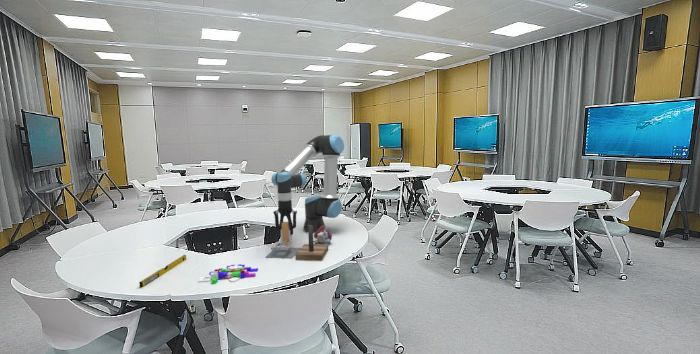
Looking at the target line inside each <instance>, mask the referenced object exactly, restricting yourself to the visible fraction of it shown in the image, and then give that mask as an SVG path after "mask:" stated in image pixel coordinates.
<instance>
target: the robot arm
mask: <svg viewBox="0 0 700 354" xmlns="http://www.w3.org/2000/svg"><path fill="white" fill-rule="evenodd" d="M344 150H345V142H344V140H343V138H342V137H341V136H340V135H336V134H329V135H326V134H324V135H322V134H320V135H317V136H315V137H313V138H312V139H310V140H309V141H308V142H307V143H306V144H305V145H304V147H303V149H302V150H301V151H300V152H299V153H297V155H296V156H295V157H294V158H293V159H292V160H291V161H290V162H289V163H288V164H287V165H285V167H283V169H282V170H281V171H279V172H275V173H273V174H272V175H271V183H272V184H273V185H275V186H277V188H276V189H277V200H278V201H277V205H278V208H277V210H274V211H272V212H273V215H274V224H275V228H276V229H278V230H279V231H278V235H280V240H281V241H280V242H282V224H281V223H282V222H284V218H285V217H286V219H287V222H288V223H289V227H290V229H289V241H291V242H292V240H293V239H292V236H293V235H294V229H295V228H297V213H298V210H294V209H293V203H292V189H295V188H301V187H304V186H305V185H306V184H307V181H308V180H307V177H306V175H305V174H304V173H298V172H299V171H300V170H301V169H302V168H303V167H304V166H305V165H306V164H307V163H308V161H310V159H312V157H315V156H317V155H318V154H322V157H323V158H324V167H323V169H324V170H323V192H322V193H323V194H322V195H314V196H313V195H312V196H309V197H306V198H305V199H304V213H305V214H304V215H305V219H304V224H303V227H302V228H303V232H306V233H308V225H313V234H315V232H316V231H317V230H318V229H319V228H320V227H321V226H324V227H325V228H326V225H325V222H324V218H323V217H325V218H329V219H331V218H332V219H335V218H337V217H338V216H340V214H341V212H342V209H343V204H342V201H340V200H339V195H337V188H338V187H337V184H338V162H339V161H338V160H339V159H338V158H340V157H341V153H343V151H344ZM291 214H292V217H291ZM279 215H280V216H279ZM320 231H321V230H320ZM318 232H319V231H318Z"/></svg>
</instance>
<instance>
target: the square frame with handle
mask: <svg viewBox="0 0 700 354" xmlns="http://www.w3.org/2000/svg"><path fill="white" fill-rule="evenodd" d="M281 224H282V241H276V242H275V243H274V244H273V245H271V247H270V250H271V251H272V250H288V249H289V248H292V247H293V242H292V240H291V241H289V229H290V227H289V223H288V221H283V222H282V223H281Z"/></svg>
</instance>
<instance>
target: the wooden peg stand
mask: <svg viewBox="0 0 700 354" xmlns="http://www.w3.org/2000/svg"><path fill="white" fill-rule="evenodd" d="M307 234H308V243H304V244H303V245H302V246H301V247H300V248H301V249H300V250H299V251H298V252H297V253H296V254H295V256H294V257H295V261H310V262H311V261H313V262H314V261H317V262H318V261H320V262H321V261H323V260H324V258H325V257H326V255H327V254H328V251H329V244H328V245H321V244H314V242H313V240H314V233H313V225H308V232H307Z"/></svg>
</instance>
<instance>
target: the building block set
mask: <svg viewBox="0 0 700 354" xmlns="http://www.w3.org/2000/svg"><path fill="white" fill-rule="evenodd" d="M245 265H246V264H241V263H240V264H237V265H235V264H231V265H226V268H216V269H214V270H213V271H210V272H209V273H208V275H205V276H203V275H202V276H200V278H199V279H198V280H197V283H208V282H211V285H216V284H217V282H218V281H219V280H228V281H229V282H230V283H236V282H238V281H240V280H241V279H245V278H255V277H256V272H258V270H259V268H258V267H256V268H252V267H251V266H245Z"/></svg>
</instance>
